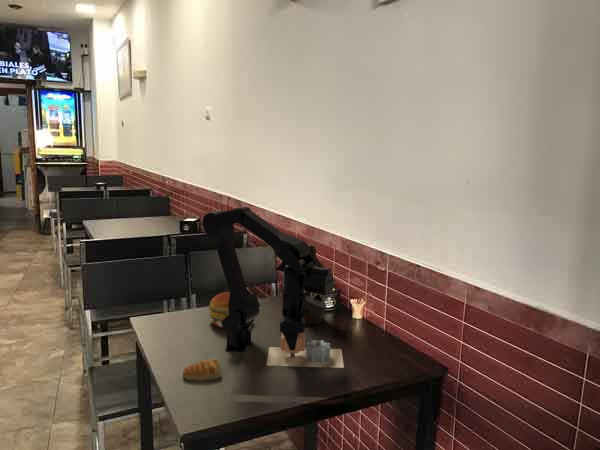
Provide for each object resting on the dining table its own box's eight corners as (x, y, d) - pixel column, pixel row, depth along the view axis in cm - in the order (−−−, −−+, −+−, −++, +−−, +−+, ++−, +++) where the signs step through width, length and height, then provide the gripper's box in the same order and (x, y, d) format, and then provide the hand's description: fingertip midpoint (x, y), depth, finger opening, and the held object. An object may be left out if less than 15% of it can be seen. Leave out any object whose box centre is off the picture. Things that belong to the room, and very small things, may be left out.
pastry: (185, 385, 120) (185, 370, 119) (180, 373, 126) (180, 358, 125) (223, 379, 123) (223, 364, 123) (217, 367, 129) (217, 353, 129)
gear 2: (305, 362, 130) (306, 346, 129) (306, 351, 136) (306, 336, 135) (330, 363, 130) (330, 346, 129) (329, 352, 136) (329, 337, 135)
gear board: (266, 369, 128) (266, 348, 127) (269, 351, 139) (269, 331, 138) (343, 372, 128) (344, 351, 127) (341, 353, 139) (341, 334, 138)
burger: (253, 316, 165) (253, 287, 163) (249, 332, 152) (249, 301, 150) (212, 315, 165) (212, 286, 163) (205, 331, 151) (204, 300, 150)
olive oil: (285, 318, 163) (287, 244, 158) (308, 311, 170) (310, 240, 166) (308, 328, 155) (311, 250, 151) (331, 320, 163) (334, 245, 158)
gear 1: (280, 353, 130) (280, 340, 129) (281, 342, 136) (281, 330, 135) (304, 353, 130) (305, 341, 129) (304, 343, 136) (305, 331, 135)
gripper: (326, 301, 120) (323, 361, 123) (323, 279, 139) (321, 331, 142) (280, 300, 120) (278, 360, 123) (283, 277, 139) (282, 330, 142)
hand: (292, 344), depth 133 cm, fingers closed on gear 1, 6 cm apart
